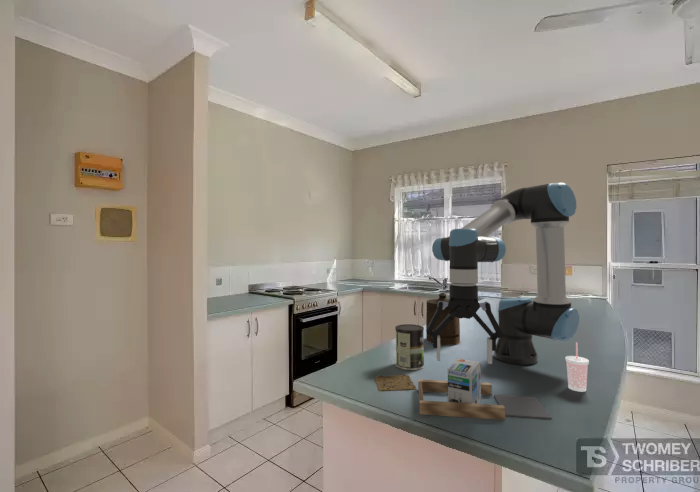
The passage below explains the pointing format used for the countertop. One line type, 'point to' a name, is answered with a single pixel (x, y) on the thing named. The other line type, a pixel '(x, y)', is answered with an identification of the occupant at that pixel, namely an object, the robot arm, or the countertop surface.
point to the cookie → (394, 383)
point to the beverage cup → (577, 372)
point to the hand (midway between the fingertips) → (463, 361)
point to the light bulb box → (464, 382)
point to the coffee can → (409, 347)
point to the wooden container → (451, 331)
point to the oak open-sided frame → (454, 407)
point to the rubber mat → (522, 407)
